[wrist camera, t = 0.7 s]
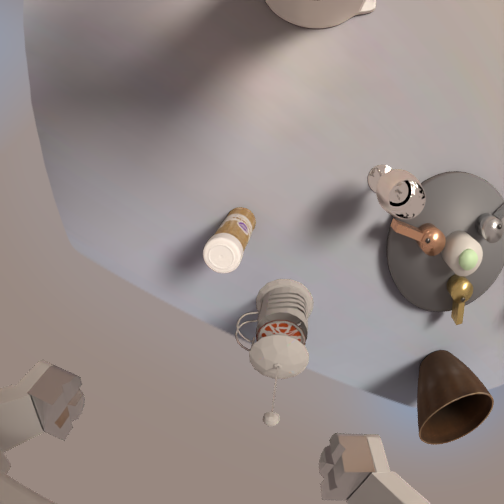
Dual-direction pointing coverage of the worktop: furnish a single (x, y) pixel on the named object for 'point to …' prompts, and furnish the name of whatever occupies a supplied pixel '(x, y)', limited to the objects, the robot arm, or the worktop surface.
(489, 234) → the knob steel
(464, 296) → the knob brass
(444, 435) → the plant pot
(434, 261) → the tribrach
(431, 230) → the knob copper
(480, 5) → the worktop surface
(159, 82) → the worktop surface
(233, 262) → the sprinkles bottle
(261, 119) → the worktop surface
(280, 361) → the vented spool lamp
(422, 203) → the wineglass
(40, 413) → the robot arm
